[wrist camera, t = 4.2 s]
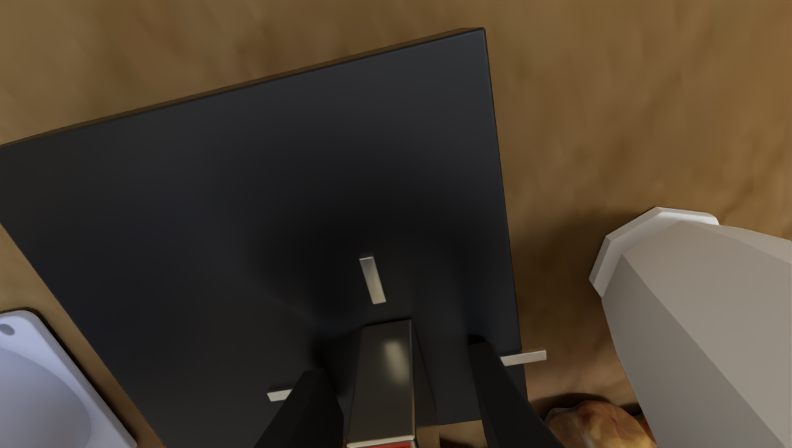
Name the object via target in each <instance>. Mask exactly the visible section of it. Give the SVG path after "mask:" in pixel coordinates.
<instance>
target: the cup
mask: <svg viewBox="0 0 792 448" xmlns="http://www.w3.org/2000/svg"><path fill="white" fill-rule="evenodd" d="M589 281H590V282H591V283H592V285H593V286H594V288H595V289H596V291H597V292H598V294H599V295H600V297H601V298H602V301H601V302H602V305H603V309H604V312H605V316H606V319H607V323H608V326H609V330H610V333H611V337H612V340H613V344H614V347H615V351H616V354H617V356H618V358H619V360H620V363H621V365H622V367H623V369H624V371H625V374H626V376H627V378H628V380H629V382H630V385H631V387H632V389H633V391H634V394H635V396H636V398H637V400H638V402H639V405H640V407H641V409H642V411H643V413H644V416H645V418H646V420H647V422H648V425H649V427H650V429H651V431H652V434H653V436H654V438H655V441H656V443H657V445H658V448H792V241H790V240H786V239H782V238H778V237H774V236H771V235H767V234H763V233H759V232H755V231H751V230H747V229H743V228H739V227H731V226H722V225H719V223H718V221H717V219H716V217H714V216H712V215H711V214H709V213H705V212H696V211H688V210H679V209H671V208H663V207H655V208H653V209H651V210H649V211H648V212H646V213H644V214H643V215H641V216H639V217H637V218H636V219H634V220H632V221H630V222H629V223H627V224H625V225H624V226H622V227H620V228H618V229H617V230H615V231H613V232H611V233H610V234H608V235H606V236H605V239H604V241H603V244H602V246H601V249H600V251H599V254H598V256H597V259H596V261H595V264H594V266H593V269H592V271H591V274H590V276H589Z"/></svg>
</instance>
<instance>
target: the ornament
mask: <svg viewBox="0 0 792 448" xmlns="http://www.w3.org/2000/svg"><path fill="white" fill-rule="evenodd" d="M544 423H545V424H546V425H547V426H548V427H549V429H550V430H551V431H552V432H553V434H554V435H555V436H556V437H557V438H558V440H559V441H560V442H561V443H562V444H563V446H564V447H565V448H658V445H657V443H656V441H655V438H654V436H653V434H652V431H651V429H650V427H649V425H648V422H647V420H646V418H645V416H644V413H641V414H640V415H637V416H631V415H629V414H628V413H627V412H626V411H624V410H623V409H622V408H620V407H618V406H616V405H614V404H611V403H608V402H603V401H591V400H588V401H582V402H580V403H579V404H578V405H576V406H575V407H573V408H554V409H552V410H550V412H549V413H548V415H547V417H546V419H545V421H544Z"/></svg>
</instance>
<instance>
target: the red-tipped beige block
mask: <svg viewBox="0 0 792 448" xmlns="http://www.w3.org/2000/svg"><path fill="white" fill-rule="evenodd" d="M346 448H440V440H439V429H438V418H437V414H436V410H435V406H434V402H433V399H432V395H431V391H430V387H429V383H428V379H427V376H426V372H425V368H424V364H423V360H422V357H421V353H420V349H419V345H418V341H417V337H416V334H415V330H414V326H413V322H412V321H411V320H410V319H407V320H401V321H395V322H389V323H383V324H377V325H371V326H365V327H363V328H362V333H361V341H360V348H359V355H358V363H357V370H356V377H355V385H354V392H353V399H352V407H351V414H350V421H349V429H348V436H347V443H346Z"/></svg>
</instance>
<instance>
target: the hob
mask: <svg viewBox="0 0 792 448" xmlns="http://www.w3.org/2000/svg"><path fill="white" fill-rule="evenodd" d="M0 224H1V225H2V226H3V228H4V229H5V230H6V232H7V233H8V234H9V236H10V237H11V238H12V240H13V241H14V242H15V244H16V245H17V247H18V248H19V249H20V251H21V252H22V253H23V255H24V256H25V257H26V259H27V260H28V261H29V263H30V264H31V265H32V267H33V268H34V270H35V271H36V272H37V274H38V275H39V276H40V278H41V279H42V280H43V282H44V283H45V284H46V286H47V287H48V288H49V290H50V291H51V293H52V294H53V295H54V297H55V298H56V299H57V301H58V302H59V303H60V305H61V306H62V307H63V309H64V310H65V311H66V313H67V314H68V315H69V317H70V318H71V320H72V321H73V322H74V324H75V325H76V326H77V328H78V329H79V330H80V332H81V333H82V334H83V336H84V337H85V338H86V340H87V341H88V343H89V344H90V345H91V347H92V348H93V349H94V351H95V352H96V353H97V355H98V356H99V357H100V359H101V360H102V361H103V363H104V364H105V366H106V367H107V368H108V370H109V371H110V372H111V374H112V375H113V376H114V378H115V379H116V380H117V382H118V383H119V384H120V386H121V387H122V389H123V390H124V391H125V393H126V394H127V395H128V397H129V398H130V399H131V401H132V402H133V403H134V405H135V406H136V407H137V409H138V410H139V411H140V413H141V414H142V416H143V417H144V418H145V420H146V421H147V422H148V424H149V425H150V426H151V428H152V429H153V430H154V432H155V433H156V434H157V436H158V437H159V439H160V440H161V441H162V443H163V444H164V445H165V447H166V448H253V447H254V446H255V444H256V443H257V441H258V440H259V438H260V437H261V435H262V434H263V432H264V431H265V430H266V428H267V427H268V425H269V424H270V422H271V421H272V419H273V418H274V416H275V415H276V413H277V412H278V410H279V409H280V407H281V406H282V404H283V402H284V401H285V399H286V398H287V396H288V395H289V393H290V392H291V390H292V389H293V387H294V385H295V384H296V382H297V381H298V379H299V378H300V376H301V375H302V374H303V372H304V371H308V370H314V369H320V368H324V369H325V371H326V373H327V376H328V378H329V381H330V383H331V385H332V388H333V390H334V393H335V395H336V398H337V400H338V402H339V405H340V407H341V410H342V412H343V414H344V429H343V439H344V438H347V436H348V429H349V421H350V414H351V407H352V399H353V392H354V385H355V377H356V370H357V363H358V355H359V348H360V341H361V333H362V328H363V327H365V326H371V325H377V324H383V323H389V322H395V321H401V320H407V319H410V320H411V321H412V322H413V326H414V330H415V334H416V337H417V341H418V345H419V349H420V353H421V357H422V360H423V364H424V368H425V372H426V376H427V379H428V383H429V387H430V391H431V395H432V399H433V402H434V406H435V410H436V414H437V418H438V425H445V424H453V423H460V422H467V421H475V420H482V418H481V414H480V409H479V404H478V399H477V393H476V388H475V383H474V378H473V373H472V368H471V362H470V357H469V352H468V347H467V345H472V344H478V343H485V342H491V343H492V344H494V346H495V348H496V351H497V353H498V354H499V356H500V358H501V360H502V362H503V364H504V365H505V367H506V369H507V370H508V372H509V374H510V375H511V377H512V378H513V380H514V381H515V383H516V384H517V386H518V387H519V389H520V390H521V392H522V393H523V394H524V396H525V397H526V399H527V400H528V397H527V388H526V379H525V371H524V363H529V362H535V361H542V360H547V357H546V350H545V347H539V348H532V349H526V350H522V344H521V336H520V327H519V318H518V310H517V301H516V292H515V284H514V275H513V266H512V258H511V249H510V240H509V232H508V223H507V214H506V205H505V197H504V188H503V179H502V171H501V162H500V153H499V145H498V136H497V127H496V119H495V110H494V101H493V93H492V84H491V75H490V67H489V58H488V49H487V40H486V32H485V29H484V28H482V27H477V28H460V29H456V30H452V31H448V32H444V33H440V34H436V35H432V36H428V37H424V38H420V39H416V40H412V41H408V42H404V43H400V44H396V45H392V46H388V47H384V48H380V49H376V50H372V51H368V52H363V53H359V54H355V55H351V56H347V57H343V58H339V59H335V60H331V61H327V62H323V63H319V64H315V65H311V66H307V67H303V68H299V69H295V70H291V71H287V72H283V73H279V74H275V75H271V76H267V77H263V78H259V79H255V80H251V81H247V82H243V83H239V84H235V85H231V86H227V87H223V88H219V89H215V90H211V91H207V92H203V93H199V94H195V95H191V96H187V97H183V98H179V99H175V100H171V101H167V102H163V103H159V104H155V105H151V106H147V107H143V108H139V109H135V110H131V111H127V112H123V113H119V114H115V115H111V116H107V117H103V118H99V119H94V120H90V121H86V122H82V123H78V124H74V125H70V126H66V127H62V128H58V129H55V130H51V131H48V132H44V133H41V134H37V135H34V136H30V137H27V138H23V139H20V140H16V141H13V142H9V143H6V144H2V145H0Z"/></svg>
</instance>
